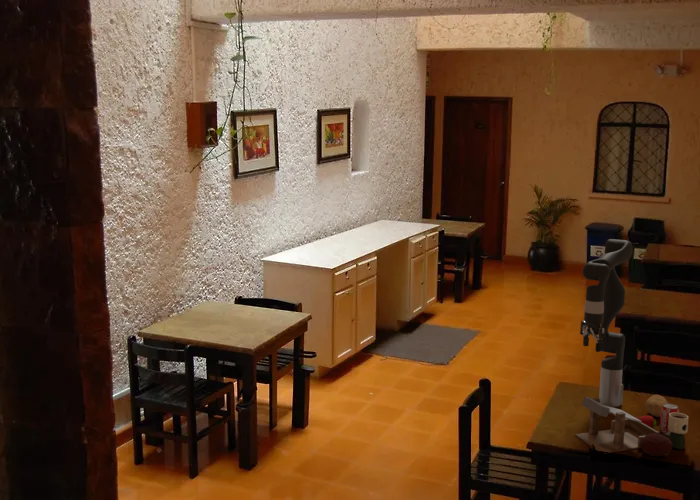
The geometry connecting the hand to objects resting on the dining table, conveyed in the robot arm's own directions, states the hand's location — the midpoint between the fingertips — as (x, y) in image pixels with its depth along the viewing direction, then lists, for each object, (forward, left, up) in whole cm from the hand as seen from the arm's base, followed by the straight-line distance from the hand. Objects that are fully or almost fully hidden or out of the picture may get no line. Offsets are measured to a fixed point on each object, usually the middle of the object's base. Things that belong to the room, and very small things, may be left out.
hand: (591, 348), depth 315 cm
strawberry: (-17, +8, -30) cm, 36 cm away
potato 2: (-7, +34, -33) cm, 48 cm away
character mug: (-20, +30, -33) cm, 49 cm away
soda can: (-26, +18, -33) cm, 46 cm away
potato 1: (-35, 0, -33) cm, 48 cm away
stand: (-1, +18, -33) cm, 38 cm away
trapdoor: (+3, +18, -22) cm, 28 cm away
